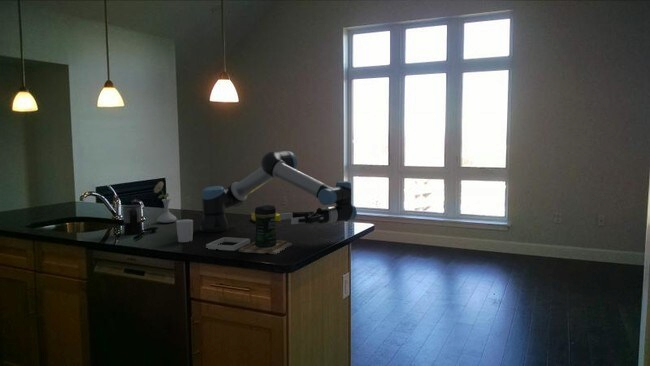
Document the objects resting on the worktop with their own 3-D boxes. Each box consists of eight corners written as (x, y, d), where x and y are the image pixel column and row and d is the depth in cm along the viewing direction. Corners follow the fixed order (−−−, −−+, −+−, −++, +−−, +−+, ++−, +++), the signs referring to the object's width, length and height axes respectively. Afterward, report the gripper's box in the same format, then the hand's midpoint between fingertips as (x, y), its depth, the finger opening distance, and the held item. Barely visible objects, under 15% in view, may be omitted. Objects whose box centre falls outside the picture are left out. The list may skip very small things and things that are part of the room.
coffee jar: (265, 249, 209) (264, 207, 208) (252, 247, 214) (251, 206, 212) (279, 245, 217) (278, 204, 216) (266, 243, 222) (265, 203, 220)
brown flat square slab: (238, 251, 210) (238, 247, 210) (256, 242, 227) (256, 238, 227) (276, 254, 205) (276, 249, 204) (291, 245, 222) (291, 240, 221)
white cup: (184, 243, 228) (183, 222, 227) (173, 241, 232) (172, 221, 231) (197, 240, 234) (196, 220, 233) (186, 238, 239) (185, 218, 238)
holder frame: (206, 248, 216) (206, 244, 216) (223, 241, 231) (223, 237, 231) (233, 250, 212) (233, 246, 212) (250, 242, 227) (249, 238, 227)
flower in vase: (169, 220, 293) (167, 179, 291) (181, 221, 286) (179, 180, 284) (150, 223, 282) (148, 181, 280) (162, 225, 276) (160, 182, 273)
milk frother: (120, 233, 254) (119, 205, 252) (149, 229, 265) (147, 202, 264) (132, 237, 244) (131, 208, 242) (161, 232, 255) (160, 204, 254)
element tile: (250, 219, 294) (250, 212, 293) (274, 217, 300) (274, 210, 299) (257, 223, 280) (257, 215, 279) (281, 221, 286) (281, 213, 285)
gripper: (338, 226, 218) (296, 231, 208) (314, 218, 240) (275, 222, 230) (338, 210, 217) (296, 214, 208) (314, 204, 239) (275, 207, 230)
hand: (285, 218), depth 219 cm, fingers open, 13 cm apart
